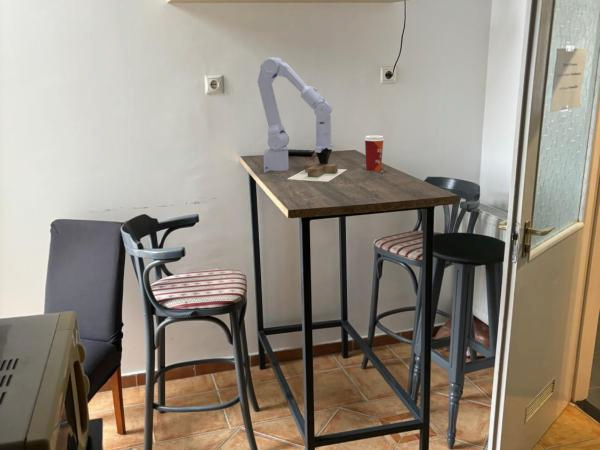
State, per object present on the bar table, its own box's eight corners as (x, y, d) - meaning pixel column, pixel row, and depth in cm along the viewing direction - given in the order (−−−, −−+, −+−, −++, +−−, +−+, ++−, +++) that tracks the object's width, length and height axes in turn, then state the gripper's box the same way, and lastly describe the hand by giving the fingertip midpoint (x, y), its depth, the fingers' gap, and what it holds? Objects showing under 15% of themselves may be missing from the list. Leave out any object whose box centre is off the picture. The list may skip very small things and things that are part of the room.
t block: (297, 176, 222) (297, 168, 221) (308, 170, 233) (308, 162, 232) (328, 178, 218) (328, 170, 217) (337, 172, 229) (337, 164, 228)
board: (286, 181, 218) (286, 179, 218) (308, 169, 239) (308, 167, 239) (328, 184, 212) (328, 181, 212) (347, 171, 234) (347, 169, 234)
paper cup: (382, 174, 229) (383, 137, 225) (362, 173, 230) (363, 137, 226) (384, 170, 236) (384, 135, 232) (364, 169, 238) (365, 134, 234)
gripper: (327, 136, 220) (327, 172, 224) (339, 131, 233) (338, 165, 237) (309, 135, 222) (310, 171, 226) (321, 130, 235) (322, 164, 239)
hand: (323, 168), depth 232 cm, fingers closed
